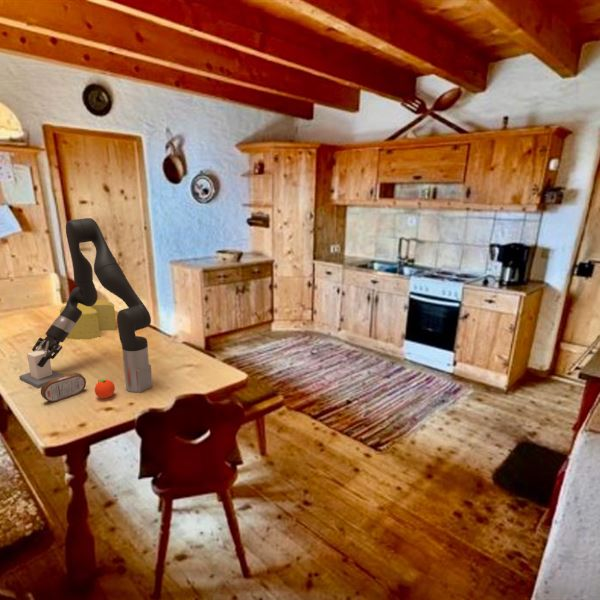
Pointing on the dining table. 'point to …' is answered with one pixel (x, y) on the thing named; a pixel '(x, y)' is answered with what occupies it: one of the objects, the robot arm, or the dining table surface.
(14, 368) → the dining table surface
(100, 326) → the cheese
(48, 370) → the block
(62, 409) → the dining table surface
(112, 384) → the clementine
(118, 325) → the robot arm
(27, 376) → the slate board
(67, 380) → the tin
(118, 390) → the dining table surface
